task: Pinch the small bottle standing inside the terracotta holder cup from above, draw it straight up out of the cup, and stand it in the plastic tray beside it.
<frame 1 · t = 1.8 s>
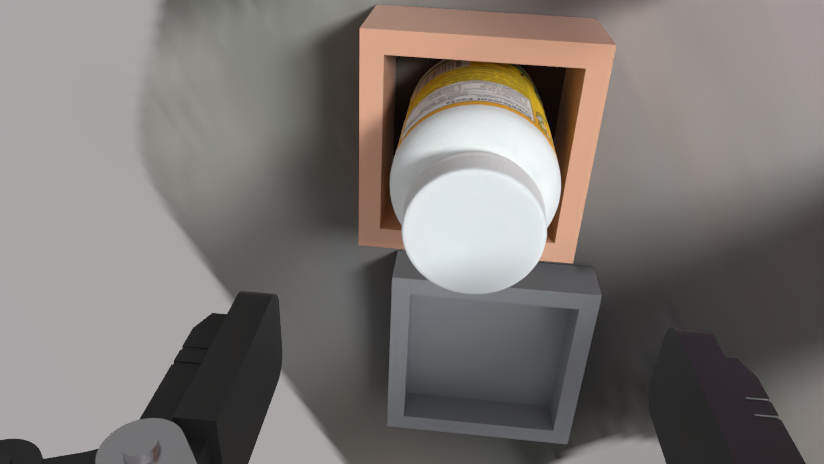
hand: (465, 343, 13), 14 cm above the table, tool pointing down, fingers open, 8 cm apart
supplement bottle: (475, 114, 26), resting in holder cup
tray: (485, 335, 31), on the table
holder cup: (475, 116, 26), on the table
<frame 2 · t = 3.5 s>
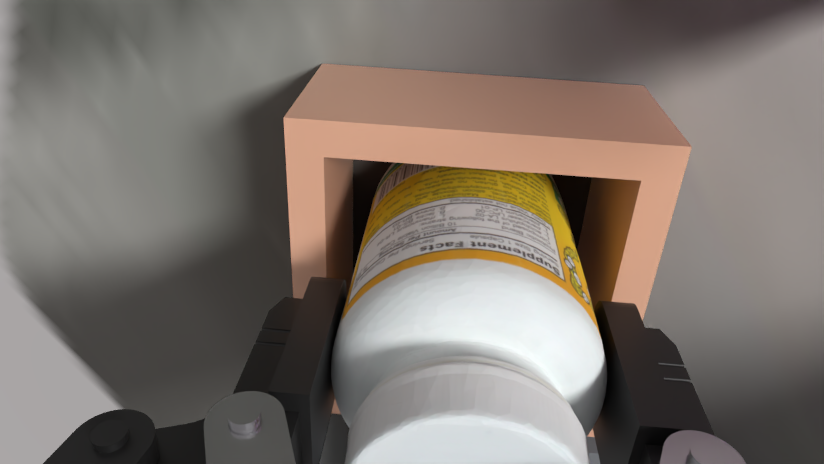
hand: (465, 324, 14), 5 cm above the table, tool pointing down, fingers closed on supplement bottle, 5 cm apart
supplement bottle: (466, 211, 19), resting in holder cup, touching gripper
holder cup: (466, 215, 18), on the table
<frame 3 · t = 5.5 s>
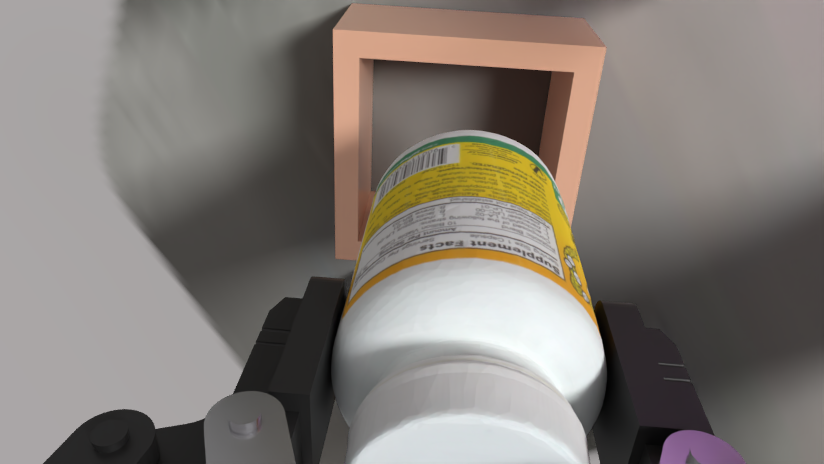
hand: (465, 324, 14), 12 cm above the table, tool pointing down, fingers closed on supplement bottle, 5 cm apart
supplement bottle: (466, 211, 19), point 7 cm above the table, touching gripper
holder cup: (457, 120, 25), on the table
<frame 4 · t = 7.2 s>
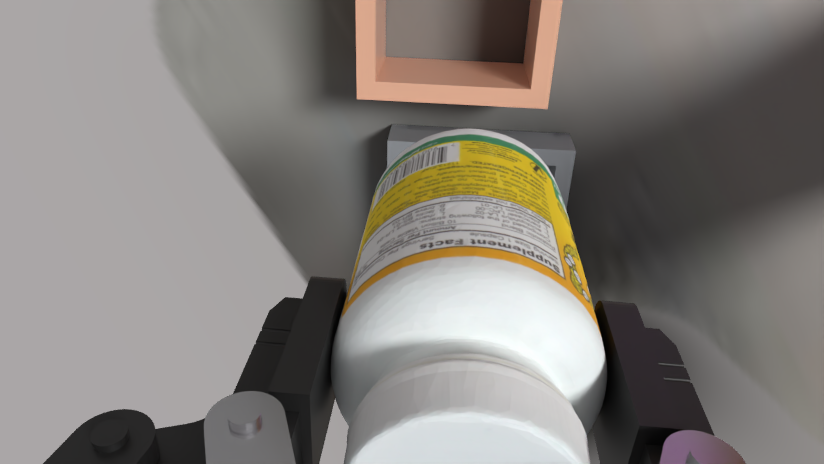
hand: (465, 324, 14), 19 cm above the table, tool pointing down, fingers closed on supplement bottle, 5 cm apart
supplement bottle: (466, 210, 19), point 14 cm above the table, touching gripper
tray: (473, 207, 34), on the table
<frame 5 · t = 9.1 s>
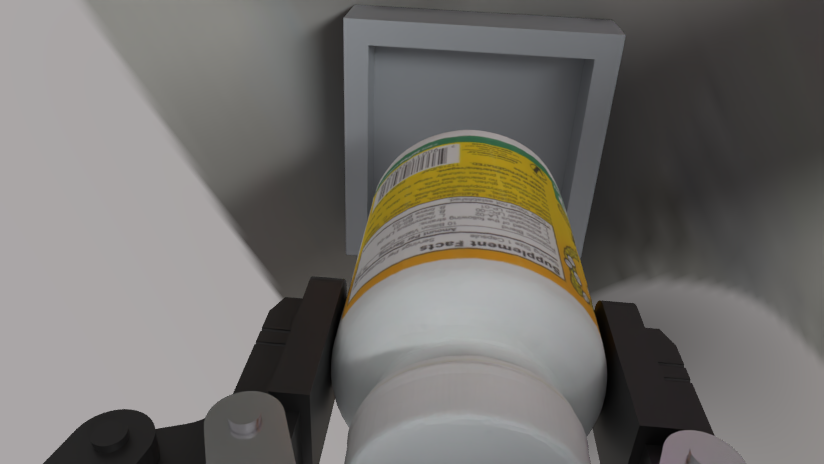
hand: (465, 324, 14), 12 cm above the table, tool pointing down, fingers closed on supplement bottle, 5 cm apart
supplement bottle: (466, 211, 19), point 7 cm above the table, touching gripper
tray: (471, 133, 24), on the table
when the fingers open (7 cm above the table, at t = 10.9 s): supplement bottle drops 1 cm, resting on tray.
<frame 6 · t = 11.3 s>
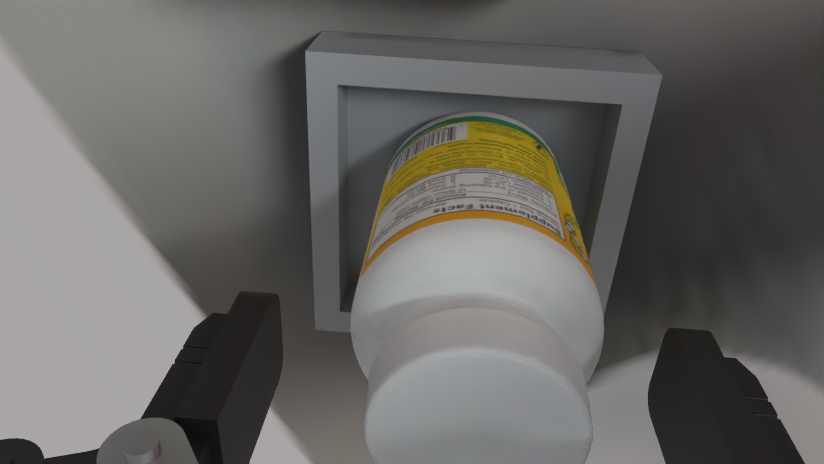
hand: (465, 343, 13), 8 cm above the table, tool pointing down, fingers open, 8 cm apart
supplement bottle: (472, 189, 20), resting on tray
tray: (466, 185, 20), on the table
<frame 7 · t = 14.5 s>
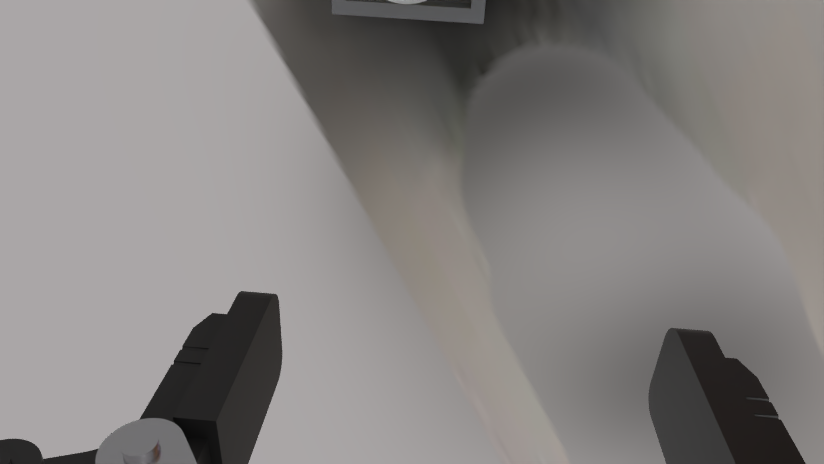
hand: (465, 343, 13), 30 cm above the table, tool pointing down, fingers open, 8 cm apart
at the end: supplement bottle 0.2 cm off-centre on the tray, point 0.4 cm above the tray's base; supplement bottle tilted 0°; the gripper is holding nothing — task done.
